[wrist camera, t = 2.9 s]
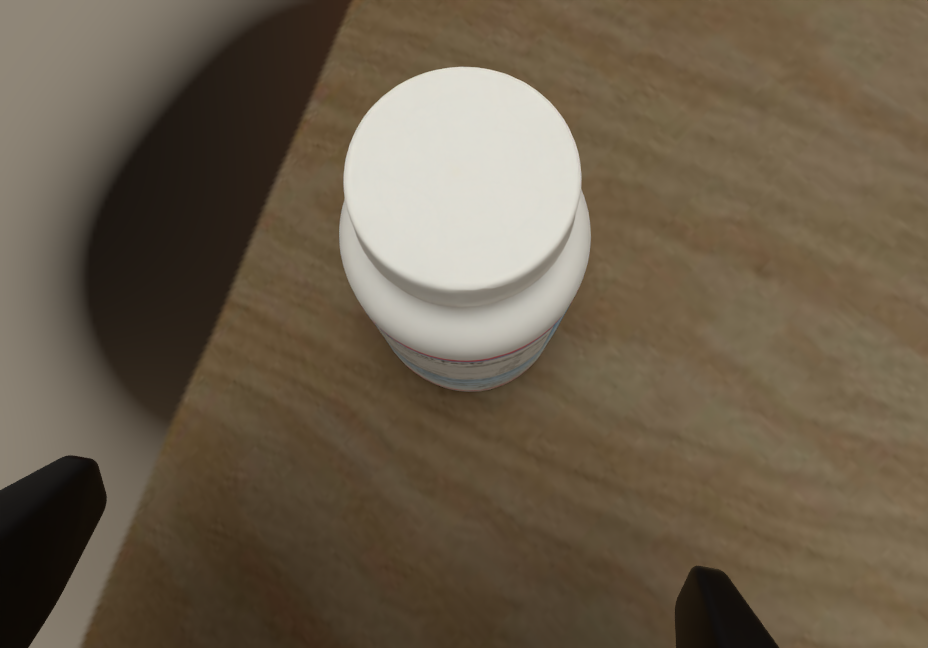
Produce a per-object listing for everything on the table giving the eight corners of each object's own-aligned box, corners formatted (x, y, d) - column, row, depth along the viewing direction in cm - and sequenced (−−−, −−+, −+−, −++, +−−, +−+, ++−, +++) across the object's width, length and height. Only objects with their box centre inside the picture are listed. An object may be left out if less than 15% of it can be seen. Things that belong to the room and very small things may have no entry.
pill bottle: (441, 201, 24) (415, -21, 13) (583, 286, 23) (681, 123, 12) (349, 336, 23) (237, 216, 12) (495, 429, 22) (515, 390, 11)
